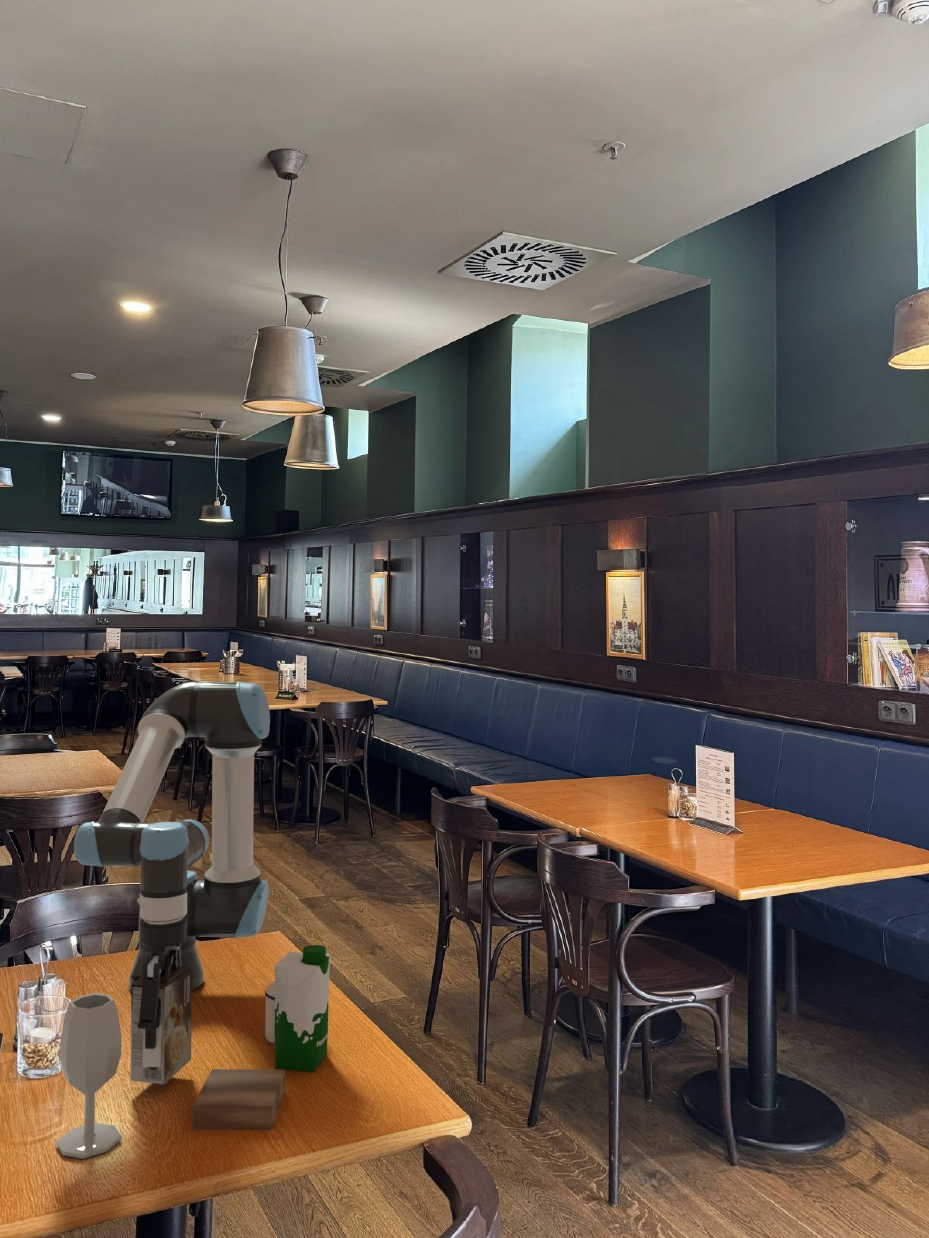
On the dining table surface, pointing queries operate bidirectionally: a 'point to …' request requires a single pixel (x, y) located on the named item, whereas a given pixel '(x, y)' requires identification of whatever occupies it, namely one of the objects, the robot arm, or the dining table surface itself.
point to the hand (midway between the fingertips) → (161, 1051)
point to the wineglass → (90, 1068)
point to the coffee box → (164, 1028)
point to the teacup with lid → (270, 1012)
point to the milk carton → (301, 1009)
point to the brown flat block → (239, 1100)
